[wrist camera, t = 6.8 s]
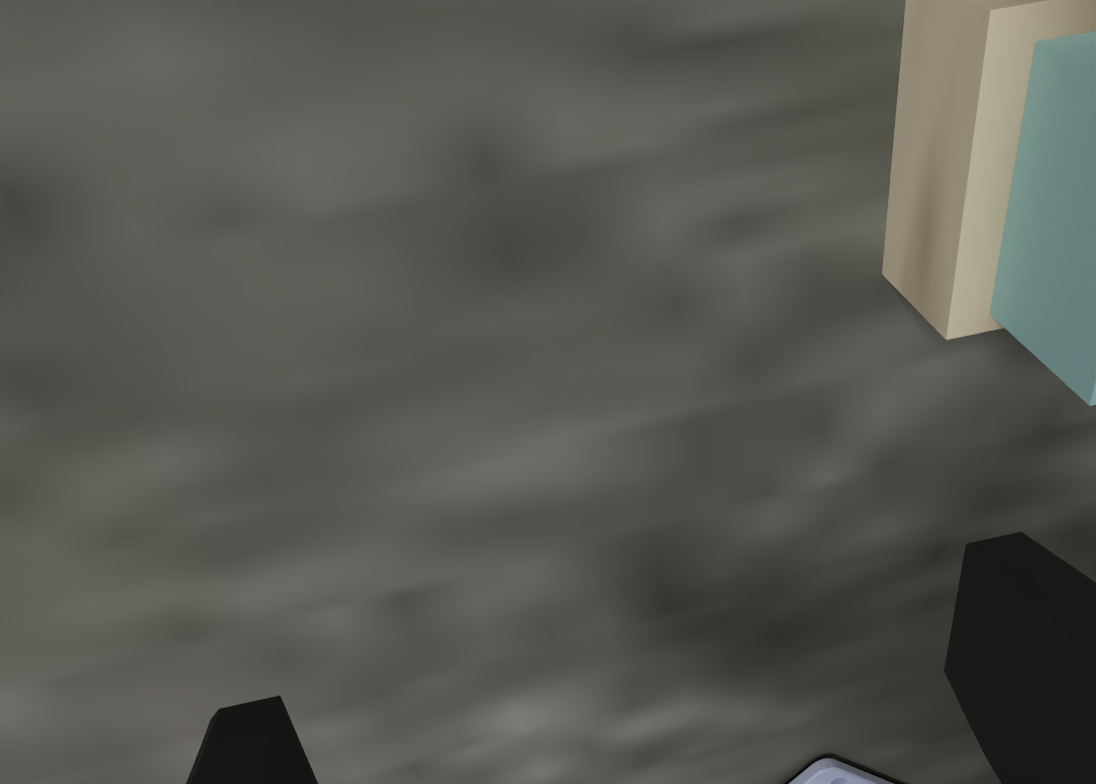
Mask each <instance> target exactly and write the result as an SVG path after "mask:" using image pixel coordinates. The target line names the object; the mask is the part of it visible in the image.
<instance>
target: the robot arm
mask: <svg viewBox="0 0 1096 784" xmlns="http://www.w3.org/2000/svg"><path fill="white" fill-rule="evenodd" d="M944 672H945V674H946V676H947V678H948V680H949V682H950V684H951V686H952V689H953V691H954V693H955V695H956V697H957V699H958V701H959V703H960V705H961V708H962V710H963V712H964V714H965V716H966V718H967V720H968V722H969V724H970V726H971V728H972V730H973V732H974V734H975V736H976V738H977V740H978V742H979V744H980V746H981V748H982V750H983V752H984V754H985V756H986V758H987V760H988V762H989V763H990V765H991V766H992V768H993V770H994V771H995V773H996V774H997V776H998V778H999V779H1000V781H1001V782H1002V784H1096V583H1095V582H1094V581H1092V580H1091V579H1089V578H1088V577H1087V576H1085V575H1084V574H1082V573H1081V572H1079V571H1078V570H1076V569H1075V568H1073V567H1072V566H1071V565H1069V564H1068V563H1066V562H1065V561H1063V560H1062V559H1060V558H1059V557H1057V556H1056V555H1055V554H1053V553H1052V552H1050V551H1049V550H1047V549H1046V548H1044V547H1043V546H1041V545H1040V544H1038V543H1037V542H1035V541H1034V540H1032V539H1031V538H1029V537H1028V536H1026V535H1025V534H1023V533H1022V532H1018V533H1013V534H1009V535H1004V536H1000V537H995V538H991V539H986V540H982V541H977V542H973V543H968V544H966V547H965V552H964V558H963V564H962V570H961V576H960V582H959V588H958V593H957V599H956V605H955V611H954V617H953V623H952V628H951V634H950V640H949V646H948V652H947V658H946V663H945V669H944ZM186 784H318V783H317V780H316V778H315V776H314V773H313V771H312V769H311V766H310V764H309V762H308V759H307V757H306V755H305V752H304V750H303V748H302V745H301V743H300V741H299V738H298V736H297V734H296V731H295V729H294V727H293V724H292V722H291V720H290V717H289V715H288V713H287V710H286V708H285V706H284V703H283V701H282V699H281V696H276V697H271V698H267V699H262V700H257V701H253V702H248V703H244V704H239V705H235V706H230V707H226V708H221V709H219V710H218V711H217V712H216V713H215V715H214V716H213V717H212V718H211V720H210V723H209V726H208V728H207V731H206V734H205V736H204V739H203V742H202V744H201V747H200V750H199V752H198V755H197V757H196V760H195V762H194V765H193V768H192V770H191V773H190V775H189V778H188V780H187V783H186ZM789 784H893V783H891V782H889V781H886V780H884V779H881V778H879V777H876V776H874V775H871V774H869V773H866V772H864V771H862V770H859V769H857V768H854V767H852V766H849V765H847V764H844V763H842V762H839V761H837V760H835V759H830V758H826V759H821V760H818V761H816V762H815V763H813V764H812V765H810V766H809V767H808V768H807V769H806V770H804V771H803V772H802V773H801V774H800V775H798V776H797V777H796V778H795V779H794V780H792V781H791V782H790V783H789Z"/></svg>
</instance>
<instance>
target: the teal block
mask: <svg viewBox="0 0 1096 784" xmlns="http://www.w3.org/2000/svg"><path fill="white" fill-rule="evenodd" d="M989 314H990V315H991V316H992V317H993V318H994V319H996V320H997V321H998V322H999V323H1000V324H1001V325H1002V326H1003V327H1004V328H1005V329H1006V330H1008V331H1009V332H1010V333H1011V334H1012V335H1013V336H1014V337H1015V338H1016V339H1017V340H1018V341H1019V342H1021V343H1022V344H1023V345H1024V346H1025V347H1026V348H1027V349H1028V350H1029V351H1030V352H1031V353H1033V354H1034V355H1035V356H1036V357H1037V358H1038V359H1039V360H1040V361H1041V362H1042V363H1043V364H1044V365H1046V366H1047V367H1048V368H1049V369H1050V370H1051V371H1052V372H1053V373H1054V374H1055V375H1056V376H1058V377H1059V378H1060V379H1061V380H1062V381H1063V382H1064V383H1065V384H1066V385H1067V386H1068V387H1069V388H1071V389H1072V390H1073V391H1074V392H1075V393H1076V394H1077V395H1078V396H1079V397H1080V398H1081V399H1083V400H1084V401H1085V402H1086V403H1087V404H1088V405H1089V406H1090V405H1095V404H1096V31H1093V32H1088V33H1082V34H1076V35H1071V36H1065V37H1059V38H1053V39H1048V40H1042V41H1036V43H1035V49H1034V55H1033V61H1032V66H1031V72H1030V78H1029V84H1028V90H1027V96H1026V102H1025V108H1024V113H1023V119H1022V125H1021V131H1020V137H1019V143H1018V149H1017V155H1016V161H1015V166H1014V172H1013V178H1012V184H1011V190H1010V196H1009V202H1008V208H1007V213H1006V219H1005V225H1004V231H1003V237H1002V243H1001V249H1000V255H999V260H998V266H997V272H996V278H995V284H994V290H993V296H992V302H991V307H990V313H989Z"/></svg>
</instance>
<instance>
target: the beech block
mask: <svg viewBox="0 0 1096 784" xmlns="http://www.w3.org/2000/svg"><path fill="white" fill-rule="evenodd" d="M1093 31H1096V0H906V6H905V17H904V29H903V40H902V52H901V63H900V75H899V86H898V98H897V109H896V121H895V132H894V144H893V155H892V166H891V178H890V189H889V201H888V212H887V224H886V235H885V247H884V258H883V270H882V275H883V276H884V277H885V278H886V279H887V280H888V281H889V282H890V283H891V284H892V285H893V286H894V287H895V288H896V289H897V290H898V291H899V292H900V293H901V294H902V295H903V296H904V297H905V298H906V299H907V300H908V301H909V302H910V303H911V304H912V305H913V306H914V307H915V308H916V309H917V311H918V312H919V313H920V314H921V315H922V316H923V317H924V318H925V319H926V320H927V321H928V322H929V323H930V324H931V325H932V326H933V327H934V328H935V329H936V330H937V331H938V332H939V333H940V334H941V335H942V336H943V337H944V338H945V339H946V340H948V339H953V338H958V337H963V336H968V335H973V334H978V333H983V332H988V331H993V330H997V329H1002V328H1004V327H1003V326H1002V325H1001V324H1000V323H999V322H998V321H997V320H996V319H994V318H993V317H992V316H991V315H990V314H989V313H990V307H991V302H992V296H993V290H994V284H995V278H996V272H997V266H998V260H999V255H1000V249H1001V243H1002V237H1003V231H1004V225H1005V219H1006V213H1007V208H1008V202H1009V196H1010V190H1011V184H1012V178H1013V172H1014V166H1015V161H1016V155H1017V149H1018V143H1019V137H1020V131H1021V125H1022V119H1023V113H1024V108H1025V102H1026V96H1027V90H1028V84H1029V78H1030V72H1031V66H1032V61H1033V55H1034V49H1035V43H1036V41H1042V40H1048V39H1053V38H1059V37H1065V36H1071V35H1076V34H1082V33H1088V32H1093Z"/></svg>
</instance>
